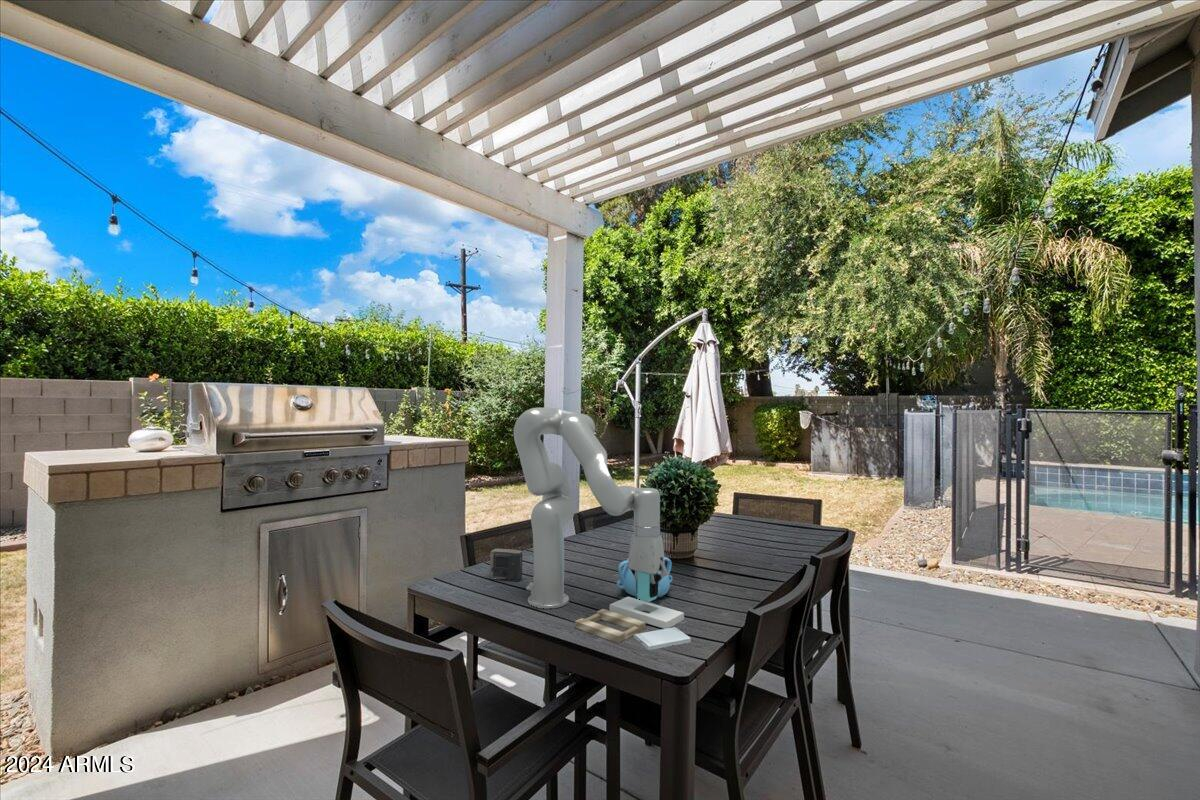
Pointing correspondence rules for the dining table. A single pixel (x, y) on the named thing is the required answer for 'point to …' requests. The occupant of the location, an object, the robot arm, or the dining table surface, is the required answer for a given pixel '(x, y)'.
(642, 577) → the plug
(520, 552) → the camera
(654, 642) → the hard drive
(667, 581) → the decorative pot
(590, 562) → the dining table surface
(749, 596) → the dining table surface
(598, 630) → the tan hollow rectangular frame
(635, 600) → the port panel
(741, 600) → the dining table surface
